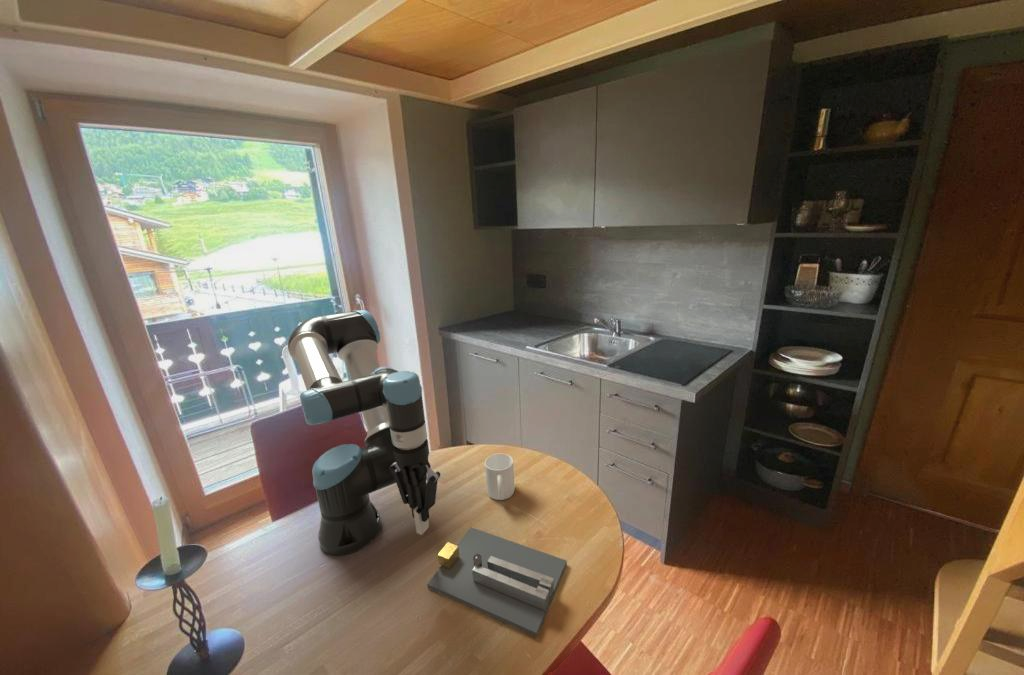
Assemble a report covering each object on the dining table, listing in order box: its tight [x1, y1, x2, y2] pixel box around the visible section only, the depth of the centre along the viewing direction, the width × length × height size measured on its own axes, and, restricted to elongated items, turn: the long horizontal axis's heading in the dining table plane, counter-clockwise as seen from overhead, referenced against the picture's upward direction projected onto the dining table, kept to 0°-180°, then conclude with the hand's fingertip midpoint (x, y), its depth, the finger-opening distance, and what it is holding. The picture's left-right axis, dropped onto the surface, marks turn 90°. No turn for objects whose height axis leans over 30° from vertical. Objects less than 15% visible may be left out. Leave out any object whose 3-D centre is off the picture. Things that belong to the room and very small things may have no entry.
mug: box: [484, 452, 516, 501], centre depth 112 cm, size 12×8×10 cm
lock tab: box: [437, 541, 459, 569], centre depth 91 cm, size 3×4×3 cm
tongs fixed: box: [472, 554, 549, 611], centre depth 83 cm, size 18×3×4 cm, turn 64°
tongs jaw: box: [487, 556, 554, 598], centre depth 84 cm, size 15×2×3 cm, turn 65°
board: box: [426, 526, 568, 638], centre depth 88 cm, size 26×18×1 cm
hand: (422, 529), depth 92 cm, fingers closed
